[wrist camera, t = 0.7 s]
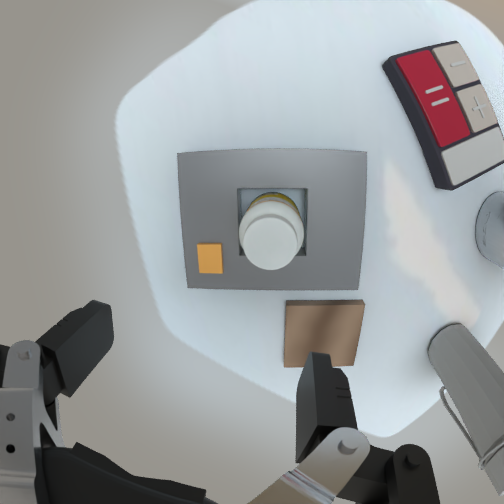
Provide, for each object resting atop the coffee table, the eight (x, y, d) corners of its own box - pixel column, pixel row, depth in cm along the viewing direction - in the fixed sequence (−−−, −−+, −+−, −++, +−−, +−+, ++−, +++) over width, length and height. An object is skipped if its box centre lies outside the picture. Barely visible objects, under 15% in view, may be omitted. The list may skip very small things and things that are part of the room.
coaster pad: (362, 299, 32) (364, 304, 31) (351, 359, 35) (353, 365, 34) (286, 300, 33) (286, 305, 32) (283, 361, 36) (283, 367, 34)
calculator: (460, 37, 18) (514, 159, 21) (444, 48, 22) (494, 159, 25) (390, 54, 21) (453, 192, 23) (378, 67, 25) (435, 189, 27)
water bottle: (440, 315, 32) (539, 456, 8) (475, 325, 32) (564, 442, 8) (408, 369, 35) (468, 514, 11) (444, 374, 35) (506, 497, 11)
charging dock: (359, 152, 27) (368, 151, 24) (352, 280, 31) (359, 292, 28) (185, 153, 29) (175, 153, 26) (193, 278, 33) (186, 290, 30)
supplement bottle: (264, 181, 29) (257, 192, 20) (309, 209, 29) (322, 232, 20) (237, 226, 31) (220, 255, 22) (281, 251, 31) (282, 291, 22)
